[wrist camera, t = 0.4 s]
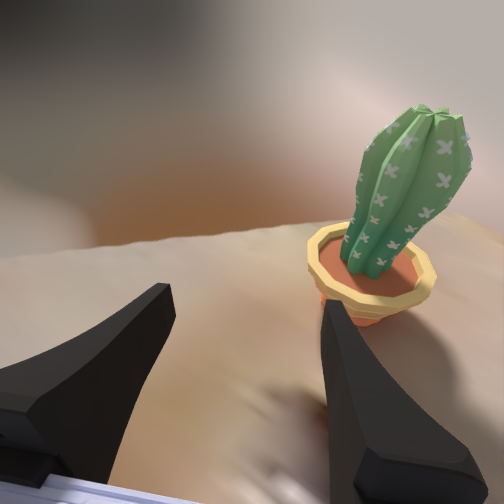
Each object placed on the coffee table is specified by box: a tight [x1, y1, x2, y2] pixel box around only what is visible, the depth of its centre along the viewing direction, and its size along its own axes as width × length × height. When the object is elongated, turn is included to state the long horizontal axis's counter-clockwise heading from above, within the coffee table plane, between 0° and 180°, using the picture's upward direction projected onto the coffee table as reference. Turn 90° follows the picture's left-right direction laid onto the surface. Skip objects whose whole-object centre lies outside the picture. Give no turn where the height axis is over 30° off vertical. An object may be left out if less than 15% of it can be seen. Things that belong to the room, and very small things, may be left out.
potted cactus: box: [308, 104, 473, 327], centre depth 33 cm, size 15×16×25 cm
